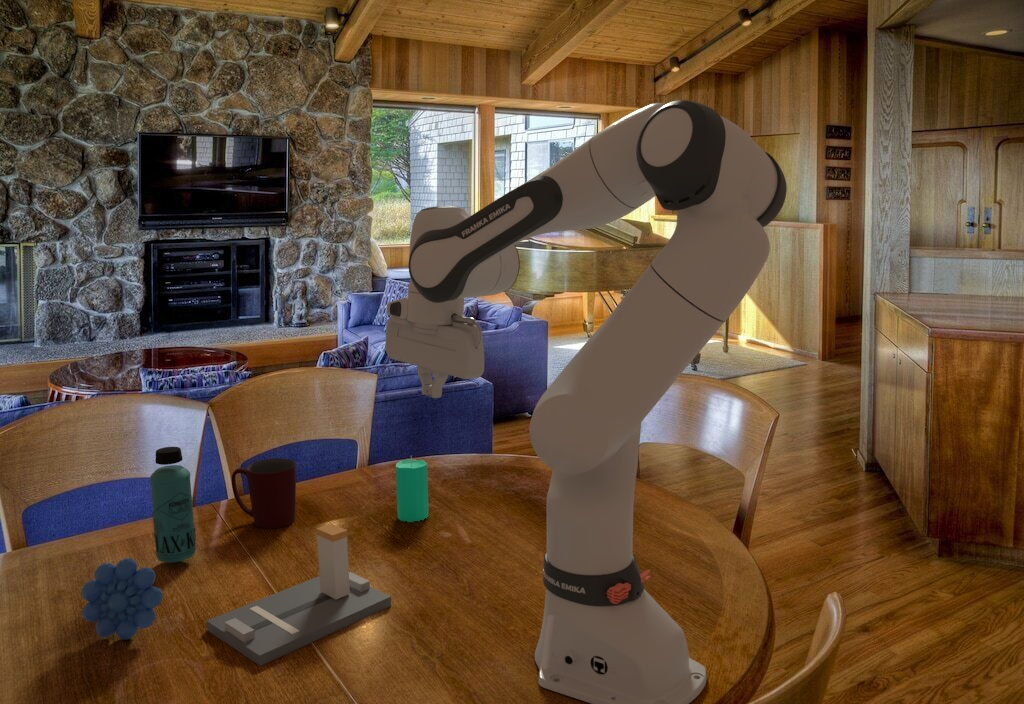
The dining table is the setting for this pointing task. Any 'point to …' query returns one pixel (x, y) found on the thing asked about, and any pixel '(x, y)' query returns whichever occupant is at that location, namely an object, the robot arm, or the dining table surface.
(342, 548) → the fader tab
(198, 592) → the dining table surface
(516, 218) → the robot arm
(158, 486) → the beverage bottle
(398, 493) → the candle
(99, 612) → the blue flower
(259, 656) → the board
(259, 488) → the mug
